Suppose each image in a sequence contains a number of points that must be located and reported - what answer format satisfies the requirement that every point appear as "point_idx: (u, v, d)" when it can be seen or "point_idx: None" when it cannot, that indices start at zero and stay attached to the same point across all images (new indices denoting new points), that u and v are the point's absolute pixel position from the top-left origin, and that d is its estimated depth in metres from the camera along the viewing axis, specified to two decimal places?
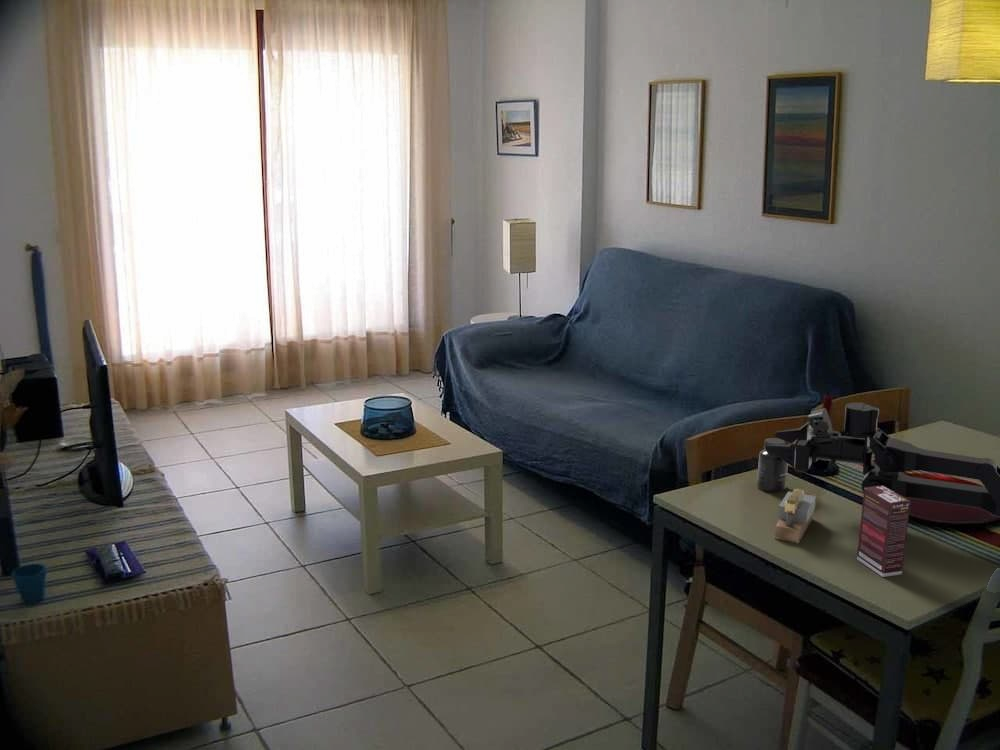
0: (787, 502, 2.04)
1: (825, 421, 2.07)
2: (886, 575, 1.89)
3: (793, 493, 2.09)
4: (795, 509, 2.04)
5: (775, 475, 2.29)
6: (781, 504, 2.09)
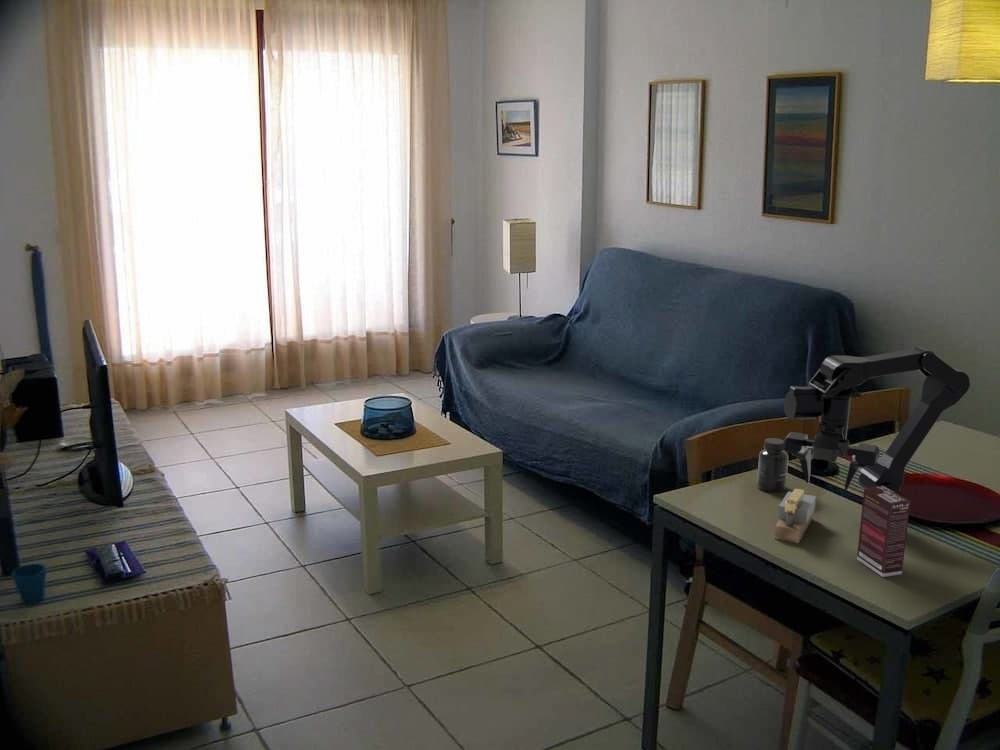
0: (787, 502, 2.04)
1: (844, 445, 1.94)
2: (886, 575, 1.89)
3: (793, 493, 2.09)
4: (795, 509, 2.04)
5: (775, 475, 2.29)
6: (781, 504, 2.09)
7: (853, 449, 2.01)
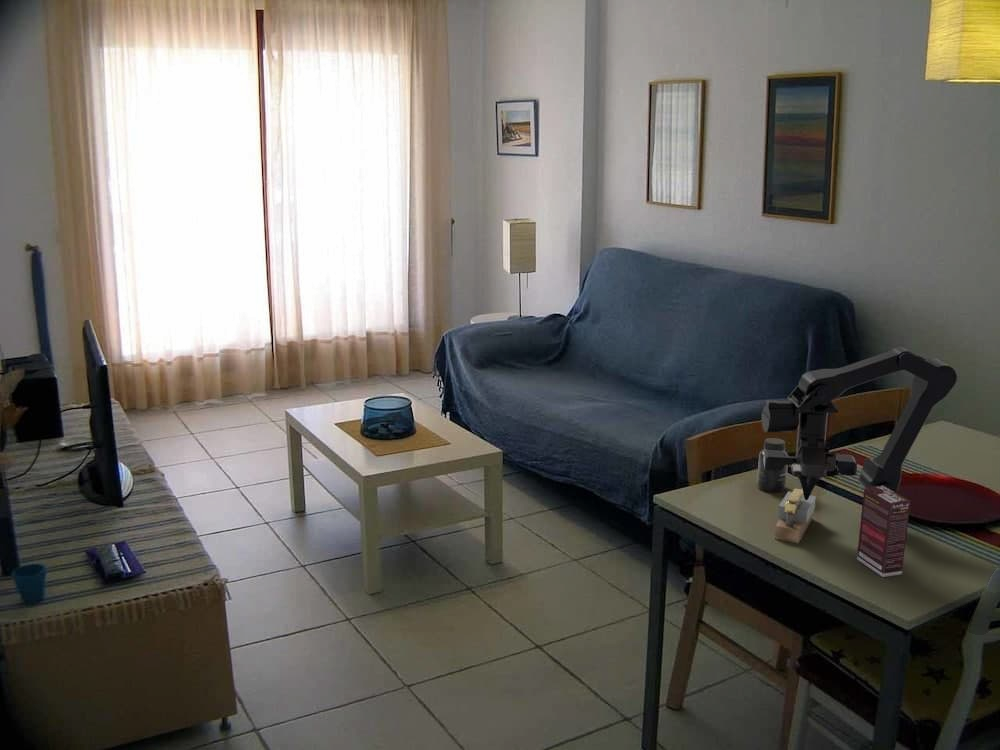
0: (787, 502, 2.04)
1: (833, 459, 1.98)
2: (886, 575, 1.89)
3: (793, 493, 2.09)
4: (795, 509, 2.04)
5: (775, 475, 2.29)
6: (781, 504, 2.09)
7: None
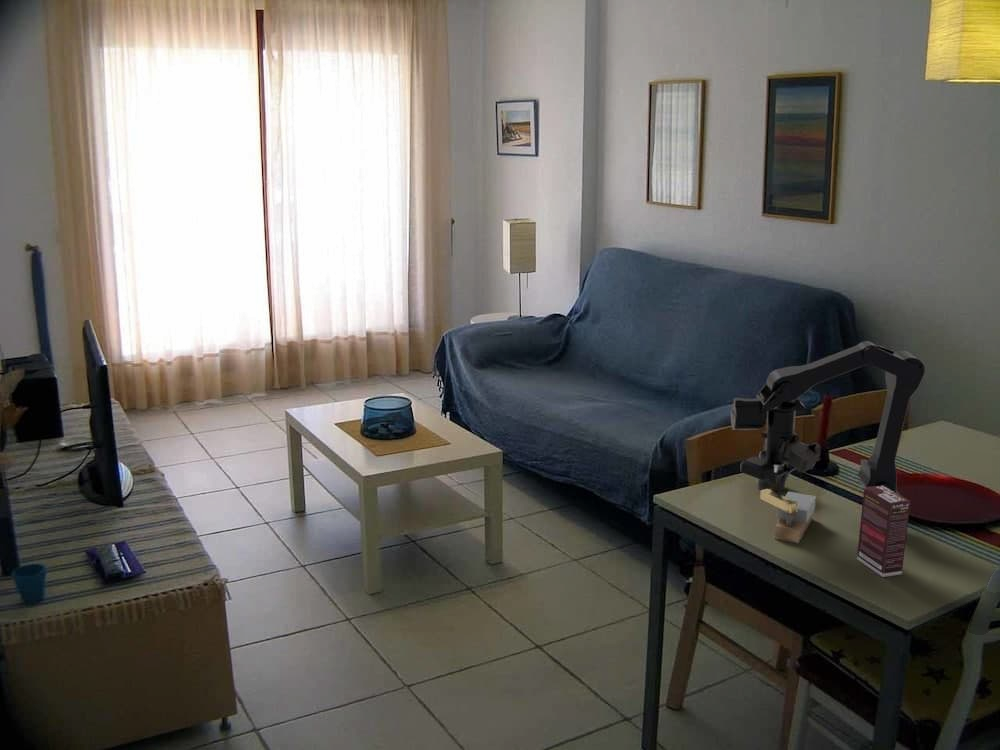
0: (790, 503, 2.03)
1: (819, 448, 2.03)
2: (886, 575, 1.89)
3: (772, 494, 2.08)
4: None
5: None
6: None
7: None
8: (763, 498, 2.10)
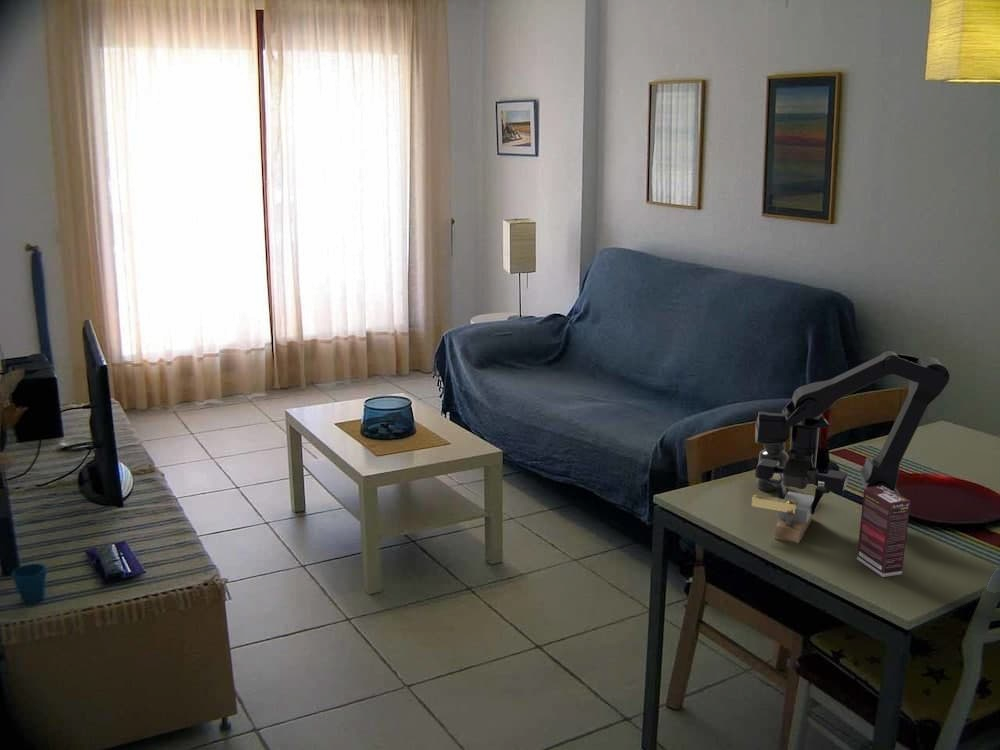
0: (793, 503, 2.03)
1: (813, 473, 2.01)
2: (886, 575, 1.89)
3: (766, 499, 2.06)
4: None
5: None
6: None
7: (822, 476, 2.08)
8: (756, 505, 2.07)
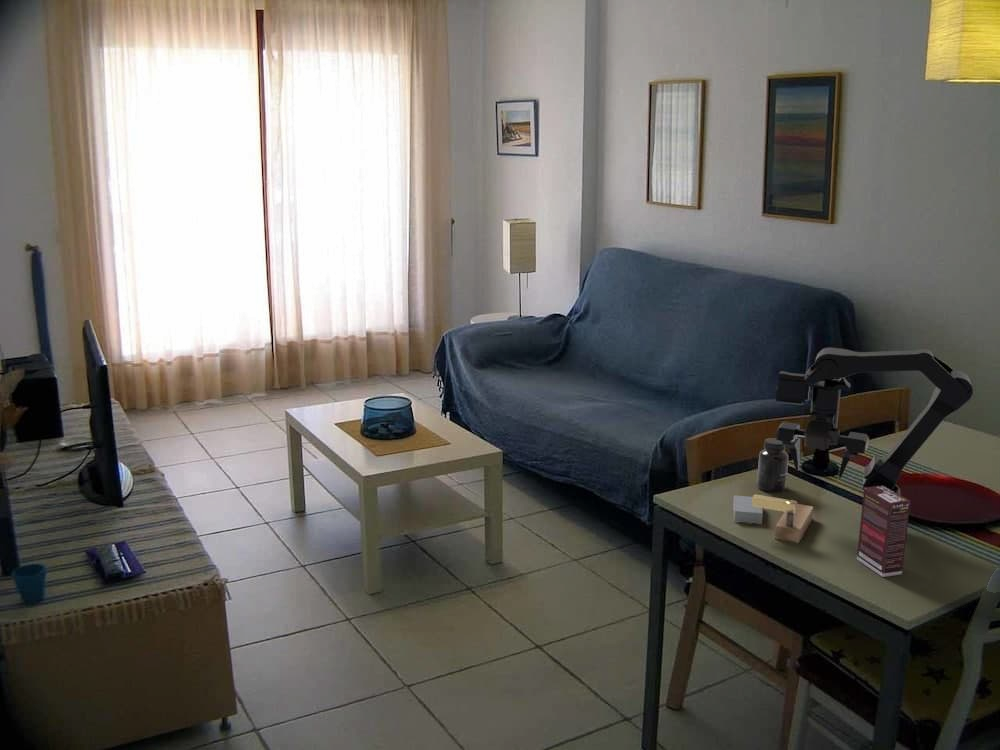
0: (793, 503, 2.03)
1: (835, 433, 2.01)
2: (886, 575, 1.89)
3: (766, 499, 2.06)
4: None
5: (775, 475, 2.29)
6: (736, 509, 2.15)
7: (843, 438, 2.07)
8: (756, 505, 2.07)
